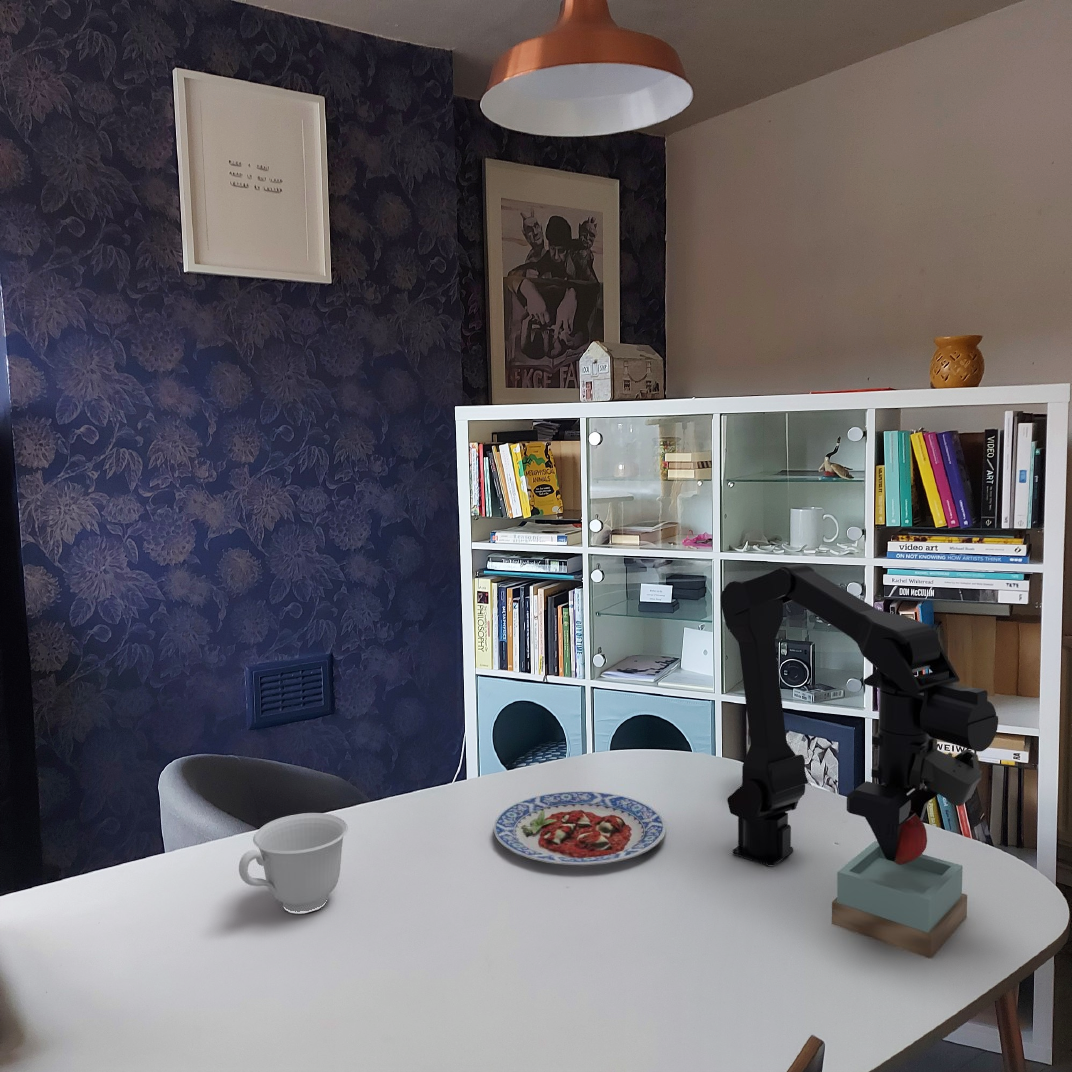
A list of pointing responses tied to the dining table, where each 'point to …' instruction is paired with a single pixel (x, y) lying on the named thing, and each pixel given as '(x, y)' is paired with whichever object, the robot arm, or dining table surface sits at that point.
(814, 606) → the robot arm
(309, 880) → the teacup
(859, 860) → the top block
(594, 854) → the ceramic plate
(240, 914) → the dining table surface
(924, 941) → the bottom block
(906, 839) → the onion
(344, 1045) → the dining table surface
